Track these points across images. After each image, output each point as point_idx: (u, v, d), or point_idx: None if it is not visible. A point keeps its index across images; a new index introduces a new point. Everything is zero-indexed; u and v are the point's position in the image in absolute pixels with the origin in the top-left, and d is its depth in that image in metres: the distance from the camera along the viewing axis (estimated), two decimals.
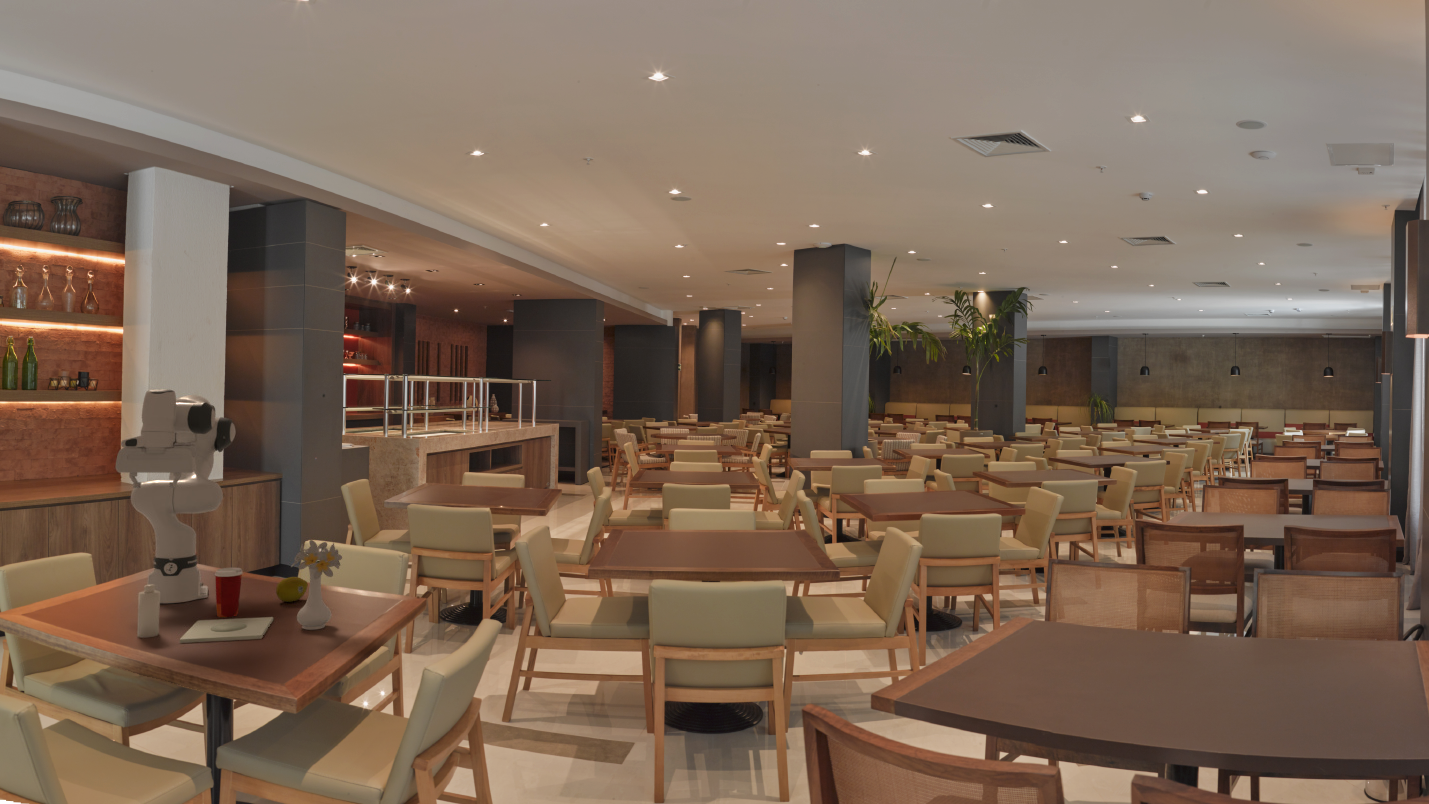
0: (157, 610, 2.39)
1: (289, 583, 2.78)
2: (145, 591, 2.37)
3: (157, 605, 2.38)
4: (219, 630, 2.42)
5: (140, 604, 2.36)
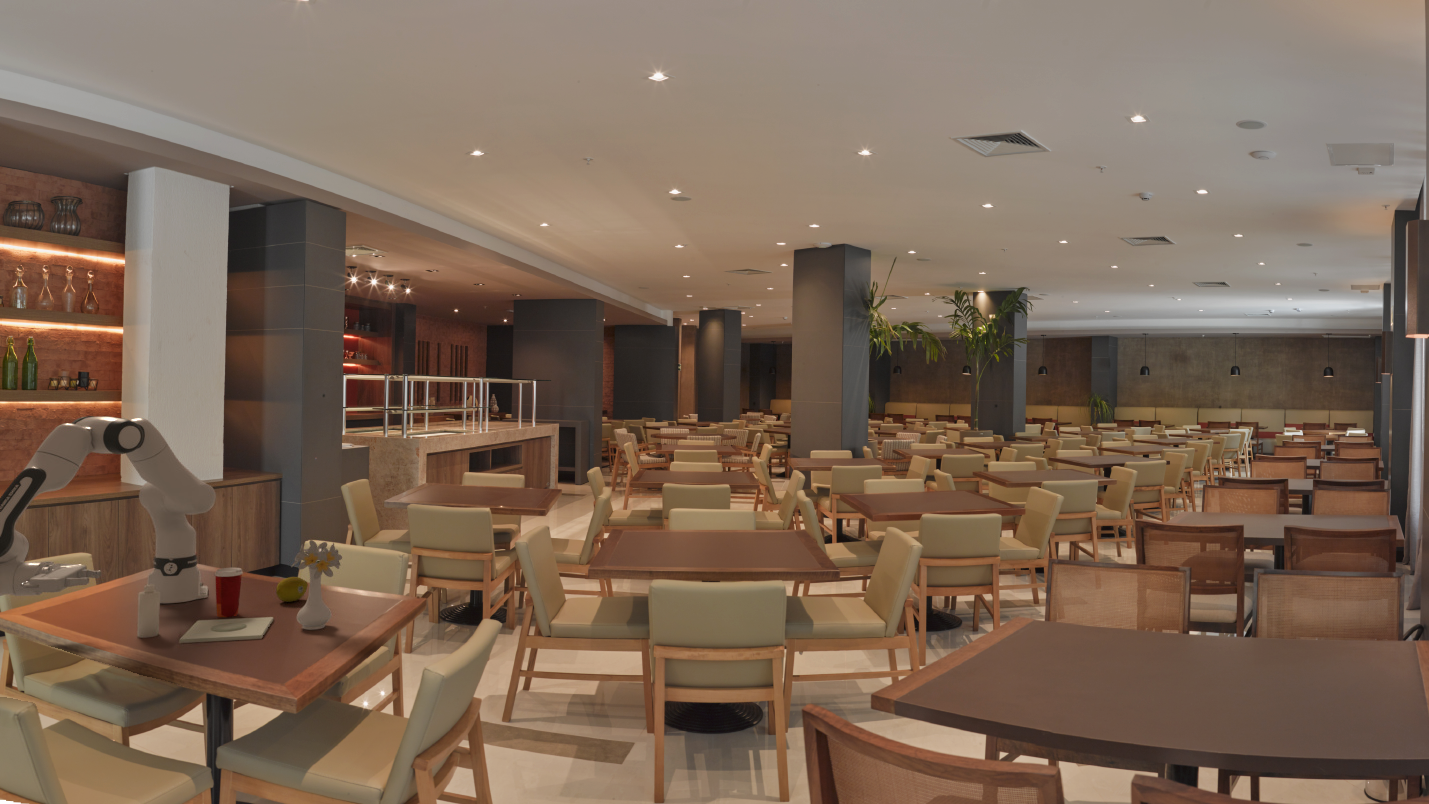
0: (157, 610, 2.39)
1: (289, 583, 2.78)
2: (145, 591, 2.37)
3: (157, 605, 2.38)
4: (219, 630, 2.42)
5: (140, 604, 2.36)
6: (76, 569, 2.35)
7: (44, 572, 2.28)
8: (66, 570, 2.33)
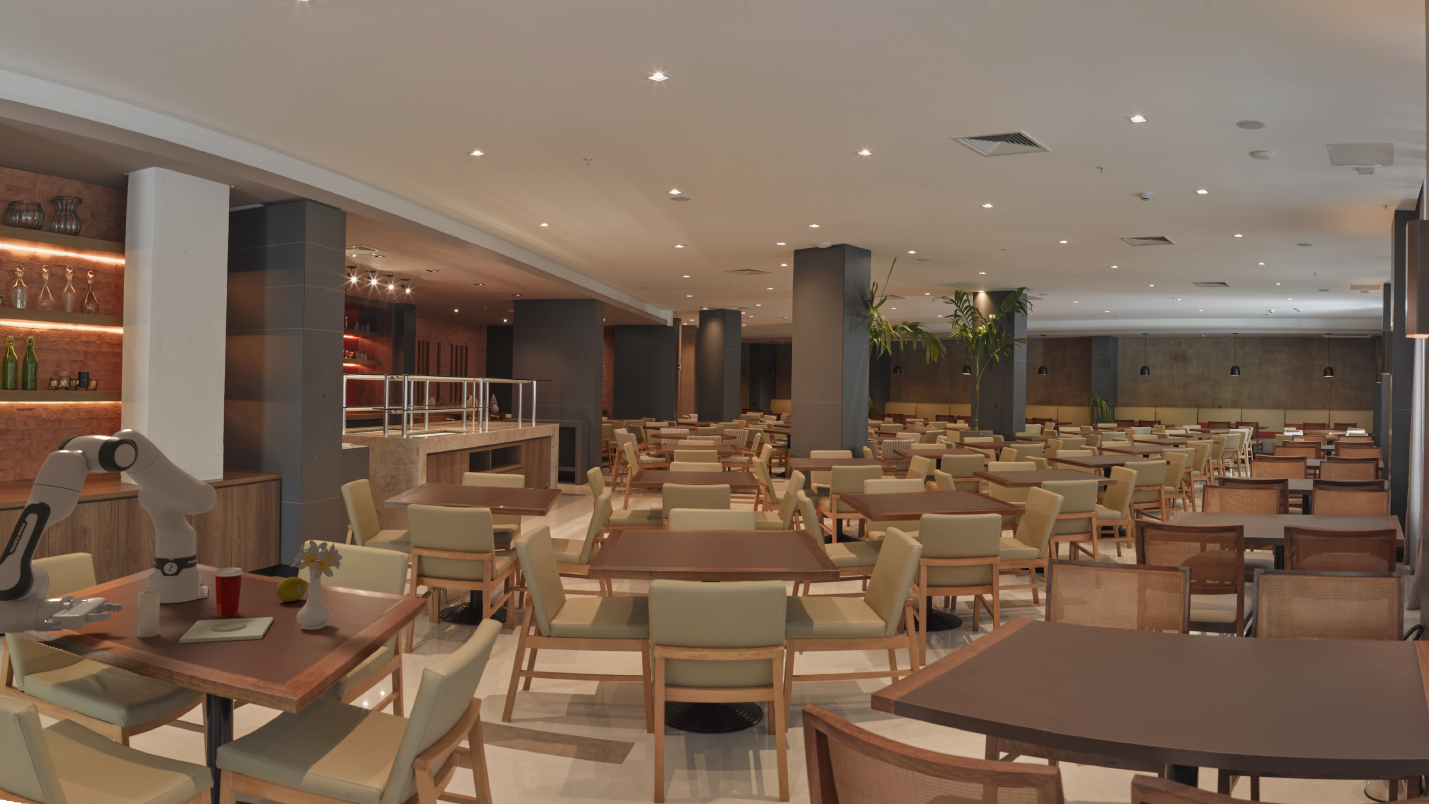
0: (157, 610, 2.39)
1: (289, 583, 2.78)
2: (145, 591, 2.37)
3: (157, 605, 2.38)
4: (219, 630, 2.42)
5: (140, 604, 2.36)
6: (97, 603, 2.37)
7: (66, 608, 2.30)
8: (87, 605, 2.35)
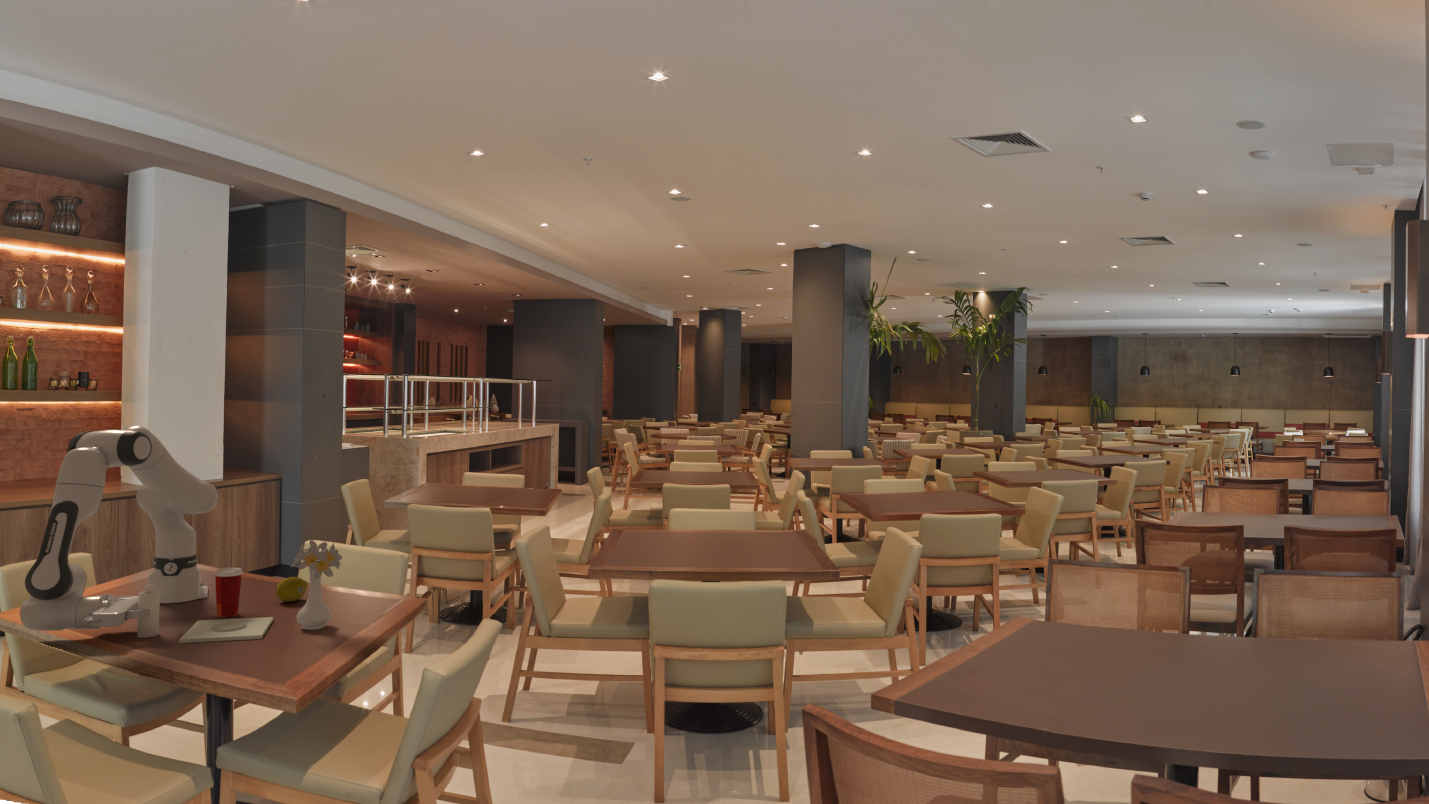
0: (157, 610, 2.39)
1: (289, 583, 2.78)
2: (145, 591, 2.37)
3: (157, 605, 2.38)
4: (219, 630, 2.42)
5: (139, 604, 2.36)
6: (134, 601, 2.40)
7: (104, 606, 2.33)
8: (125, 603, 2.38)
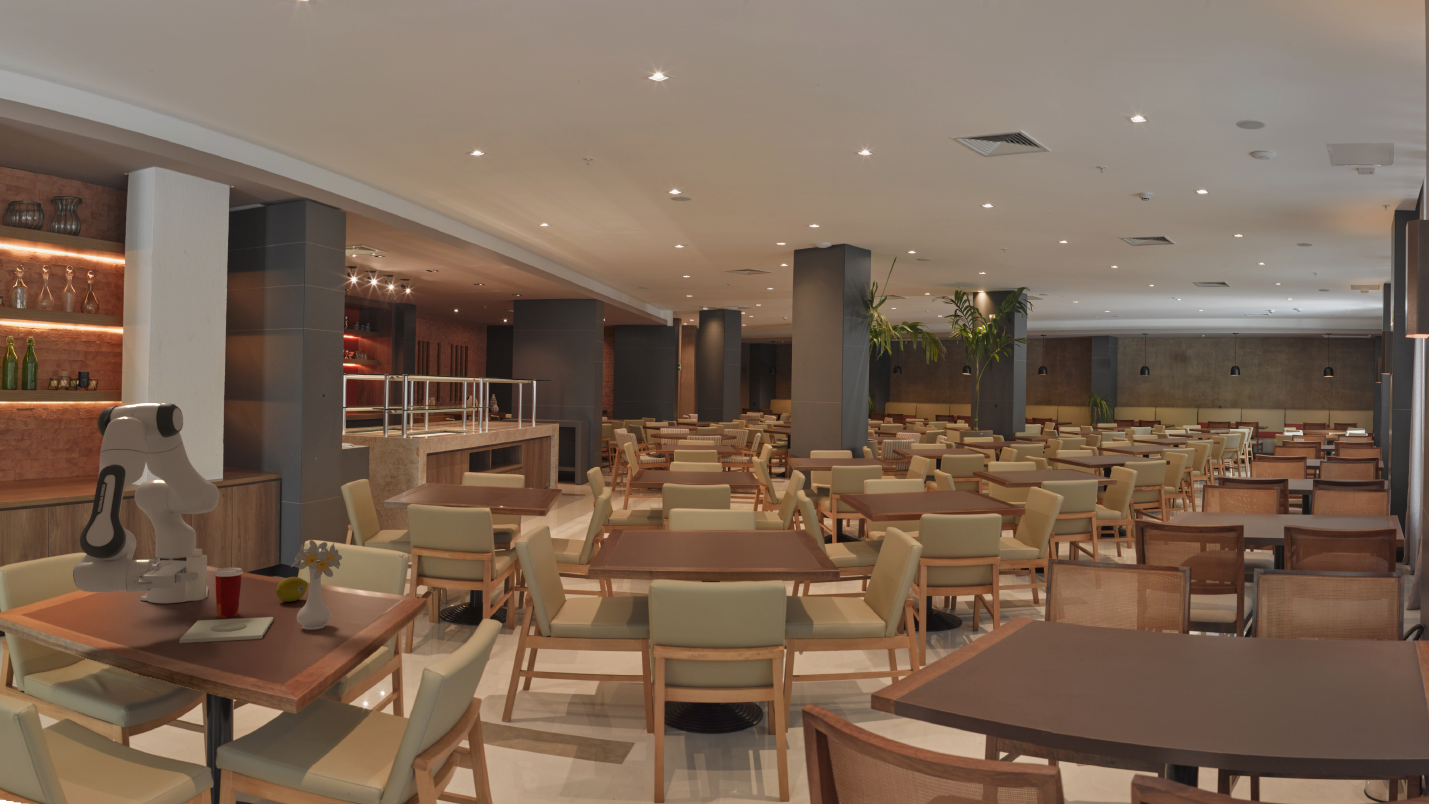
0: (204, 574, 2.42)
1: (289, 583, 2.78)
2: (193, 555, 2.41)
3: (204, 569, 2.42)
4: (219, 630, 2.42)
5: (188, 568, 2.40)
6: (182, 565, 2.44)
7: (154, 569, 2.37)
8: (173, 566, 2.42)
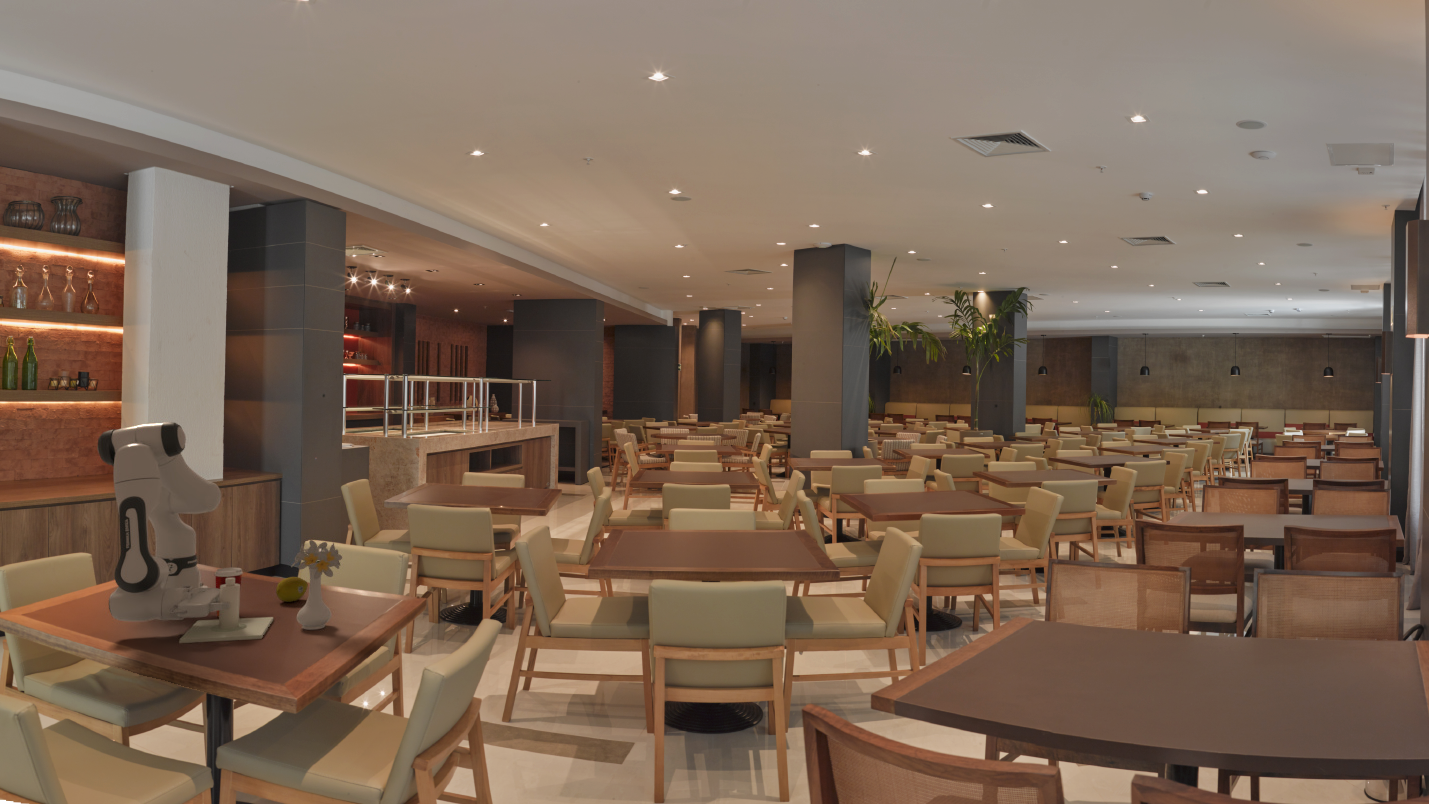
0: (238, 603, 2.45)
1: (289, 583, 2.78)
2: (226, 584, 2.44)
3: (238, 598, 2.45)
4: (219, 630, 2.42)
5: (221, 597, 2.43)
6: (215, 593, 2.47)
7: (188, 597, 2.40)
8: (206, 595, 2.45)
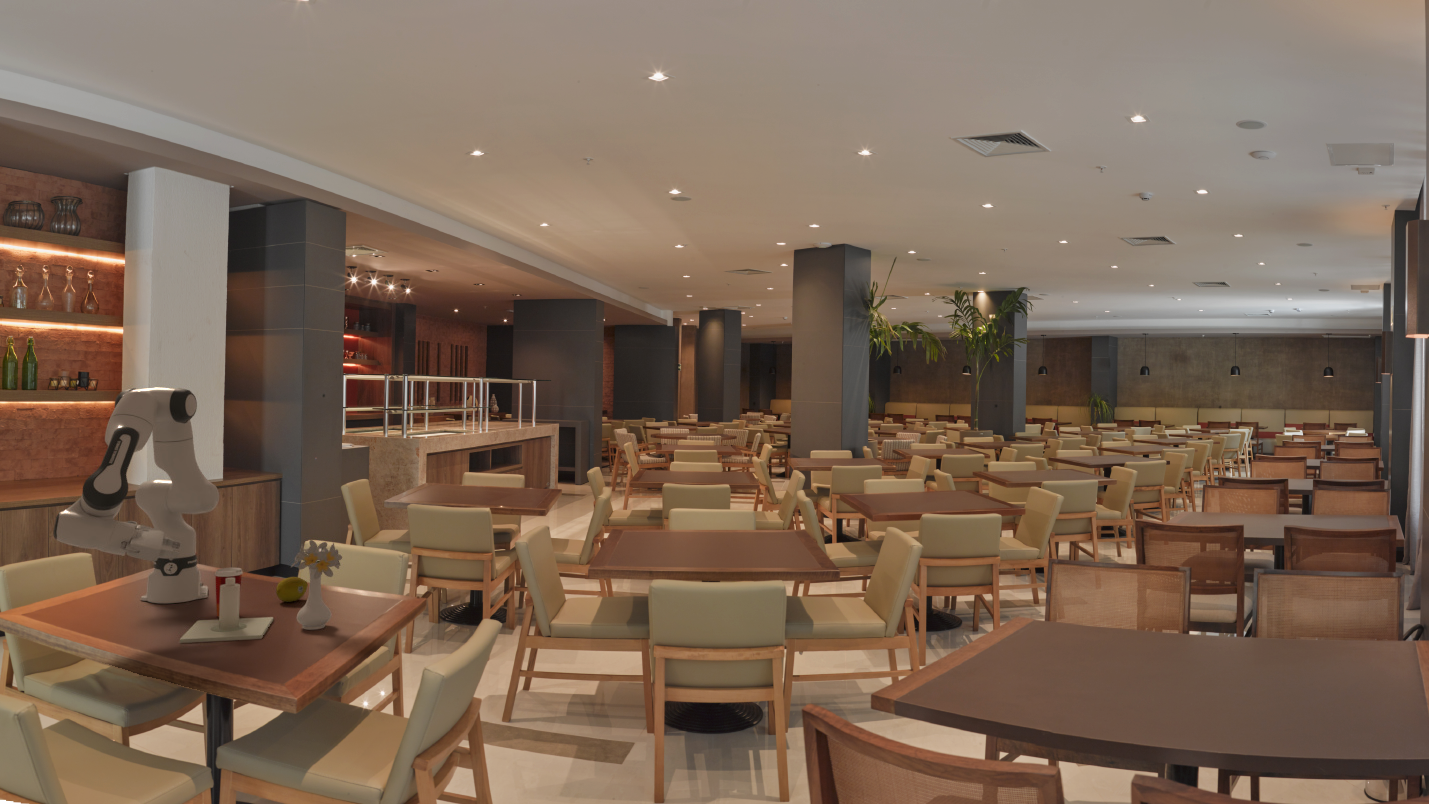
0: (238, 603, 2.45)
1: (289, 583, 2.78)
2: (226, 584, 2.44)
3: (238, 598, 2.45)
4: (219, 630, 2.42)
5: (221, 597, 2.43)
6: (161, 537, 2.44)
7: (138, 536, 2.36)
8: (154, 536, 2.41)
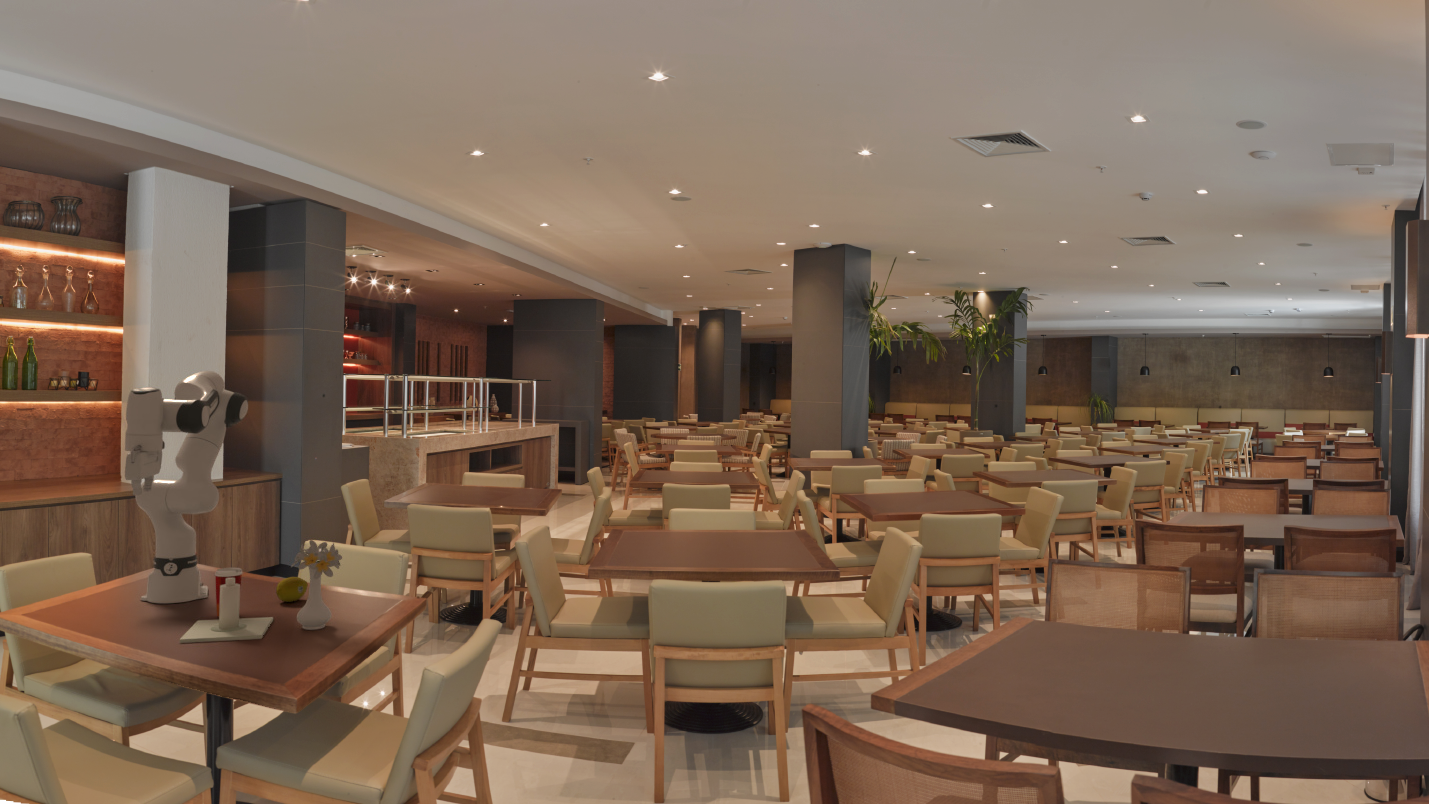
0: (238, 603, 2.45)
1: (289, 583, 2.78)
2: (226, 584, 2.44)
3: (238, 598, 2.45)
4: (219, 630, 2.42)
5: (221, 597, 2.43)
6: (153, 473, 2.46)
7: (149, 456, 2.41)
8: (152, 468, 2.45)
